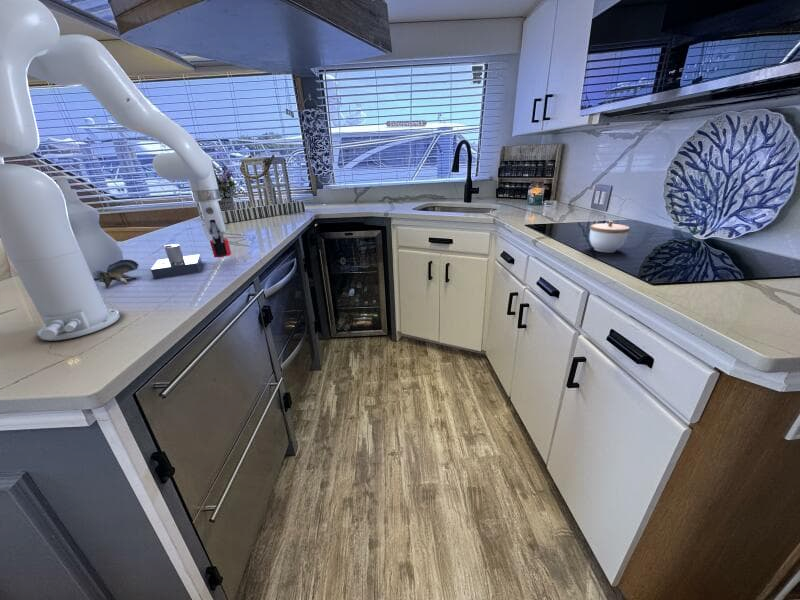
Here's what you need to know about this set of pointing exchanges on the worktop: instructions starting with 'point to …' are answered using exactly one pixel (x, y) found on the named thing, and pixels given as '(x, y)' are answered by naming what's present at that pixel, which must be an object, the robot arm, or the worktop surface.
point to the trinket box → (608, 236)
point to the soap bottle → (89, 230)
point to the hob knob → (174, 253)
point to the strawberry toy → (225, 246)
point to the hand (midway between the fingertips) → (222, 252)
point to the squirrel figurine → (116, 272)
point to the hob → (176, 267)
